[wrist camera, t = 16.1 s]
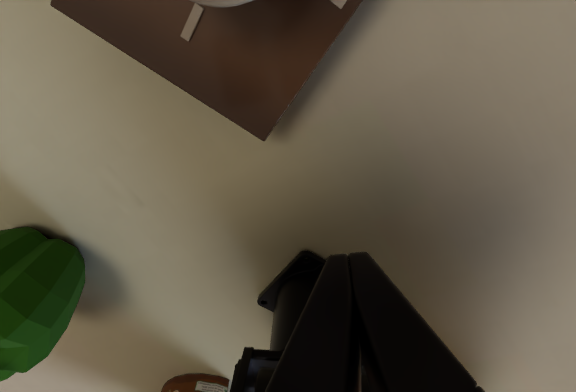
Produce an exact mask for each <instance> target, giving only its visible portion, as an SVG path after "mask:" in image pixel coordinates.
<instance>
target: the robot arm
mask: <svg viewBox="0 0 576 392" xmlns="http://www.w3.org/2000/svg"><path fill="white" fill-rule="evenodd" d="M304 257H308V258H307V259H305V258H304ZM348 258H349V260H348ZM349 266H350V267H349ZM257 303H258V304H259V305H260V306H262V307H264V308H266V309H268V310H270V311H272V312H274V316H273V325H272V334H271V343H270V350H259V349H254V348H252V347H245V348H244V351H243V355H242V358H241V359H239V361H238V364H236V365H235V370H234V375H233V380H232V385H231V389H230V392H485V391H484V390H483V389H482V388H481V387H480V386H477V387H476V385H477V383H476V381H475V380H474V379H473V377H472V376H471V375H470V374H469V373H468V371H467V370H466V369H465V368H464V367H463V365H462V364H461V363H460V362H459V361H458V360H457V358H456V357H455V356H454V355H453V354H452V352H451V351H450V350H449V349H448V348H447V346H446V345H445V344H444V343H443V342H442V340H441V339H440V338H439V337H438V336H437V335H436V333H435V332H434V331H433V330H432V329H431V327H430V326H429V325H428V324H427V323H426V321H425V320H424V319H423V318H422V317H421V315H420V314H419V313H418V312H417V311H416V309H415V308H414V307H413V306H412V305H411V304H410V302H409V301H408V300H407V299H406V298H405V296H404V295H403V294H402V293H401V292H400V290H399V289H398V288H397V287H396V286H395V284H394V283H393V282H392V281H391V280H390V279H389V277H388V276H387V275H386V274H385V273H384V271H383V270H382V269H381V268H380V267H379V265H378V264H377V263H376V262H375V261H374V259H373V258H372V257H371V256H370V255H369V254H368V253H367V252H355V253H350V254H349V255H347V254H335V255H330V256H329V257H328V259H327V261H326V260H325V259H323V258H321V257H319V256H317V255H316V254H314V253H312V252H310V251H306V250H305V251H302V252H300V253H299V254H298V255H297V256H296V257H295V259H294V260H293V261H292V262H291V263H290V264H289V265H288V266H287V267H286V268H285V269H284V270H283V271H282V272H281V273H280V274H279V275H278V276H277V277H276V278H275V279H274V280H273V281H272V282H271V283H270V285H269V286H268V287H267V288H266V289H265V290H264V291H263V292H262V293H261V294H260V295H259V296H258V301H257Z"/></svg>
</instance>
